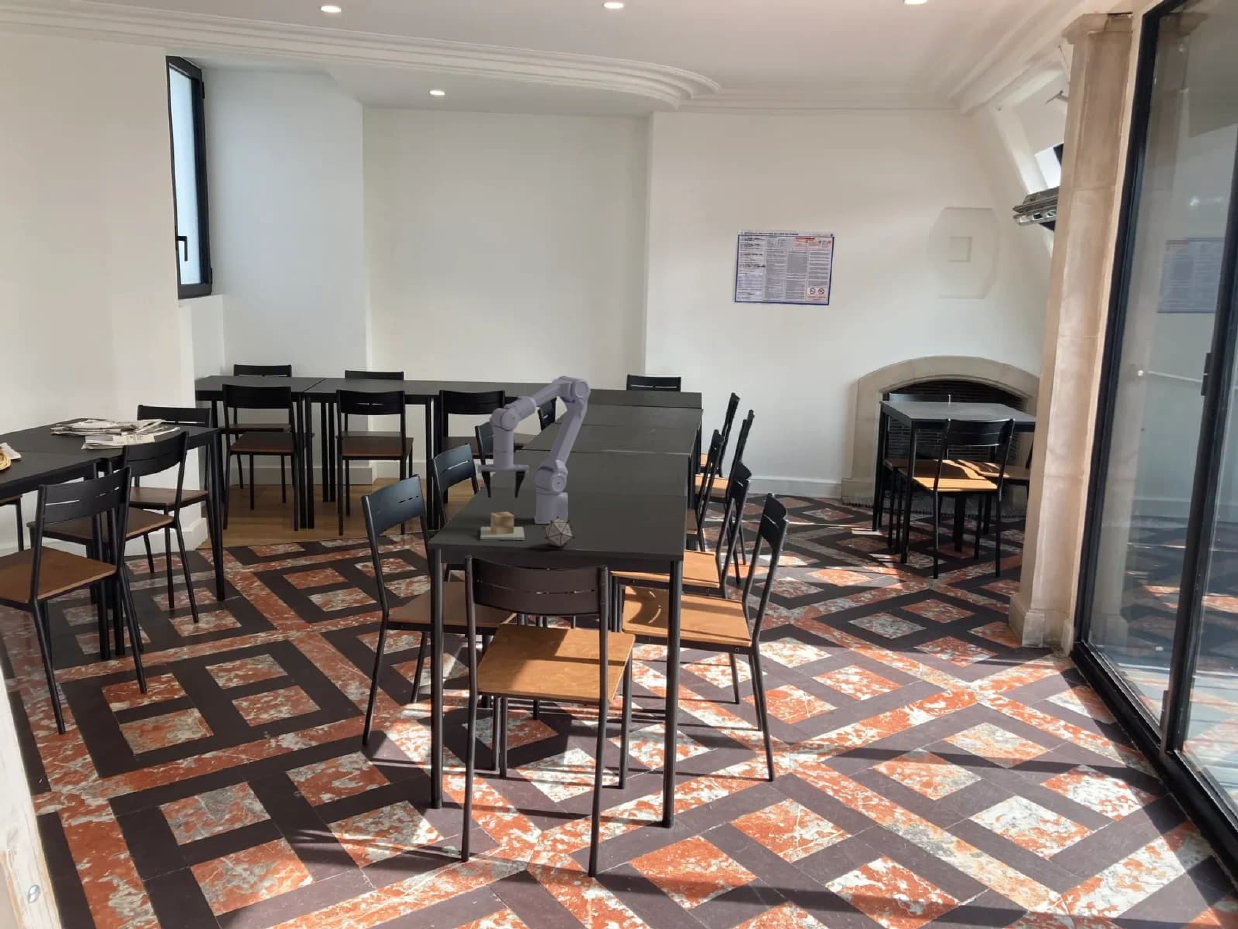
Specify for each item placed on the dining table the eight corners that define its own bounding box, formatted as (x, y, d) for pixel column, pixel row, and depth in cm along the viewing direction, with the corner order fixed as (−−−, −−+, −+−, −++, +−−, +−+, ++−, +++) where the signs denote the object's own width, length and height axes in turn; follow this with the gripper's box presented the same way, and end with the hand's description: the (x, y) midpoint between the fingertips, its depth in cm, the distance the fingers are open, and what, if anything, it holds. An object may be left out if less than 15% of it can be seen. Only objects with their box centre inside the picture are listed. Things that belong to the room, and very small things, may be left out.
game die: (553, 558, 259) (551, 524, 264) (581, 550, 257) (578, 516, 261) (538, 548, 252) (535, 514, 256) (566, 541, 249) (563, 506, 253)
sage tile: (522, 530, 272) (522, 527, 272) (524, 540, 262) (524, 537, 261) (480, 530, 271) (480, 526, 270) (480, 540, 260) (480, 536, 260)
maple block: (507, 528, 269) (507, 511, 269) (513, 533, 265) (513, 515, 264) (490, 530, 267) (490, 513, 266) (496, 534, 263) (497, 517, 262)
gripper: (527, 448, 275) (526, 493, 277) (477, 447, 272) (477, 493, 275) (529, 452, 268) (528, 499, 270) (478, 452, 265) (477, 499, 268)
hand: (502, 496), depth 272 cm, fingers open, 7 cm apart
